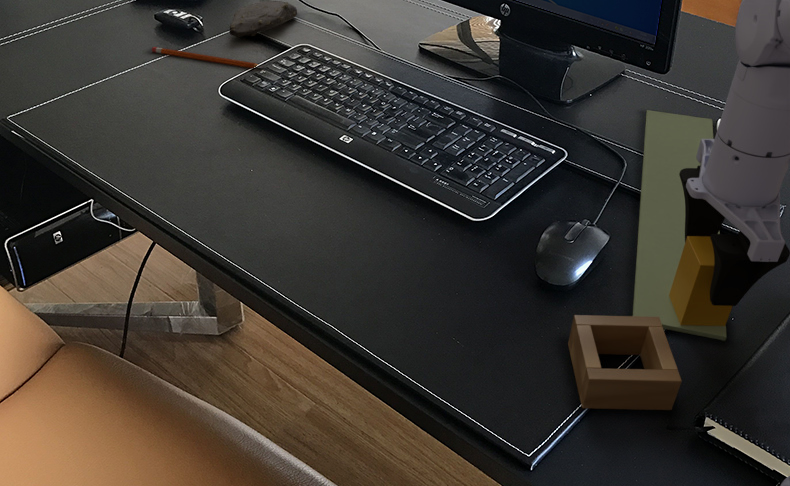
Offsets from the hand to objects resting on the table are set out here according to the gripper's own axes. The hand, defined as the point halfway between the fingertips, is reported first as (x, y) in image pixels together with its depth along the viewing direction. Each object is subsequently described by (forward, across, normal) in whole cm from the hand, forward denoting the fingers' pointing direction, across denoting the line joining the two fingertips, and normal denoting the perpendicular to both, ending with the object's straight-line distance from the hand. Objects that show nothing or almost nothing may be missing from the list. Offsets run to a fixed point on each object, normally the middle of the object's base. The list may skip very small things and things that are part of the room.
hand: (709, 272), depth 69 cm
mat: (+5, -17, +3) cm, 18 cm away
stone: (+5, -62, -48) cm, 79 cm away
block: (+4, 0, 0) cm, 4 cm away
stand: (+5, +8, -9) cm, 13 cm away
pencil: (+5, -50, -54) cm, 74 cm away
